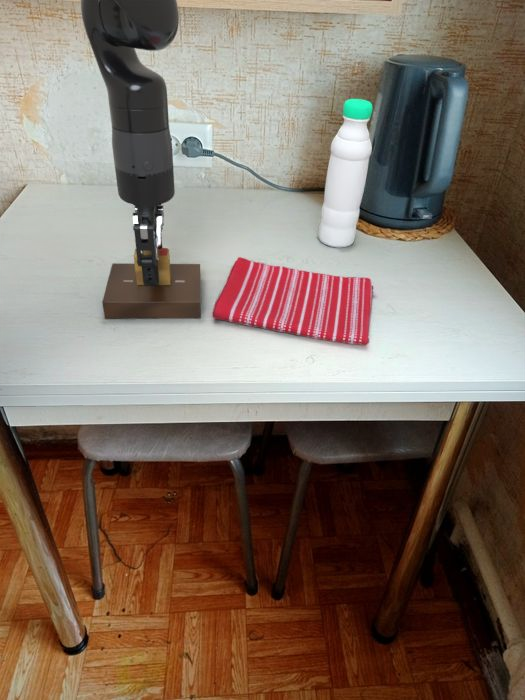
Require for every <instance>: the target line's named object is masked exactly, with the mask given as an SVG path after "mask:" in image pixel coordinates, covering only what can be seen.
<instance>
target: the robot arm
mask: <svg viewBox="0 0 525 700" xmlns="http://www.w3.org/2000/svg"><path fill="white" fill-rule="evenodd" d="M178 6H179V5H178V1H177V0H80V11H81V18H82V19H81V20H82V23H83V27H84V31H85V33H86V36H87V39H88V42H89V45H90V48H91V50H92V53H93V56H94V58H95V60H96V64H97V66H98V70H99V73H100V75H101V78H102V80H103V83H104V85H105V87H106V91H107V100H108V107H109V115H110V123H111V149H112V155H113V164H114V171H115V179H116V187H117V194H118V196H119V198H120V199H121V200H122V201H123V202H125V203H127V204H129V205H132V206H134V212H132V223H133V226H132V229H133V232H134V241H135V242H134V243H135V249H136V252H137V264H138V266H142V275H143V283H144V285H146V286H157V285H158V284H159V271H158V261H159V257H158V249H161V248H164V246H163V237H162V232H163V230H164V225H165V207H164V204H166V203H168V202H169V201H171V200H172V199H173V198H174V197H175V194H176V193H175V192H176V191H175V190H176V189H175V173H174V156H173V155H174V154H173V153H174V152H173V142H172V137H171V130H170V120H169V118H170V117H169V101H168V89H167V88H168V87H167V83H166V81H165V79H164V77H163V76H161V75H160V73H158V72H156V71H154V70H153V69H150V68H148V67H147V66H145V65H144V64H143V63H142V62H141V61H140V59H139V57H138V54H137V51H136V50H143V51H148V52H156V51H162V50H165V49H166V48H168V47H169V46H170V45H171V44H172V43H173V42H174V40H175V38H176V36H177V34H178V31H179V24H180V11H179V8H178ZM144 251H151V252H152V255H144Z"/></svg>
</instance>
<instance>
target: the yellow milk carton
mask: <svg viewBox="0 0 525 700" xmlns="http://www.w3.org/2000/svg"><path fill="white" fill-rule="evenodd" d="M144 255H152V252H151V251H144ZM158 257H159V261H158V271H159V284H158V285H171V268H170V264H171V254H170V249H169V248H168V247H163V248H161V249H158ZM133 261H134V262H133V264H135V272H136V280H137V285H144V283H143V275H142V266H138V264H137V252H136V248H134V253H133Z"/></svg>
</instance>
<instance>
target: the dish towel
mask: <svg viewBox="0 0 525 700" xmlns="http://www.w3.org/2000/svg"><path fill="white" fill-rule="evenodd" d="M373 296H374V285H373V283H372V279H371V278H369V277H359V276H343V275H333V274H327V273H321V272H320V273H319V272H313V271H307V270H303V269H302V270H301V269H298V268H291V267H285V266H282V265H271V264H268V263H263V262H257V261H254V260H249V259H247V258H244V257H241V256H238V257H237V259H236V260H235V262H234V263H233V265H232V267H231V269H230V272H229V274H228V276H227V280H226V281H225V284H224V286H223V288H222V290H221V291H220V294H219V296H218V297H217V299H216V301H215V303H214V305H213V309H212V313H211V315H212V318H214V320H218V321H225V322H228V323H229V322H230V323H234V324H239V325H244V326H248V327H254V328H260V329H265V330H270V331H275V332H278V333H279V332H280V333H285V334H292V335H295V336H301V337H306V338H312V339H317V340H323V341H329V342H335V343H343V344H349V345H359V346H362V345H363V346H366V345H368V344H369V343H370V338H369V334H370V326H371V324H370V323H371V316H372V310H373V309H372V306H373V298H374V297H373Z"/></svg>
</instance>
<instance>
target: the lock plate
mask: <svg viewBox="0 0 525 700" xmlns="http://www.w3.org/2000/svg"><path fill="white" fill-rule="evenodd" d="M170 268H171V285H157V286H146V285H137V280H136V272H135V263H123V262H122V263H119V262H118V263H117V262H116V263H112V264H111V267H110V272H109V275H108V278H107V284H106V286H105V290H104V294H103V296H102V297H103V298H102V301H101V304H102V309H103V315H104V319H105V320H138V319H139V320H146V319H147V320H149V319H150V320H151V319H153V320H154V319H155V320H156V319H159V320H160V319H161V320H162V319H163V320H165V319H170V320H171V319H172V320H173V319H201V314H202V313H201V312H202V311H201V310H202V309H201V305H202V303H201V297H202V296H201V294H202V293H201V292H202V291H201V290H202V287H201V286H202V277H201V270H202V269H201V263H170Z"/></svg>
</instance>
